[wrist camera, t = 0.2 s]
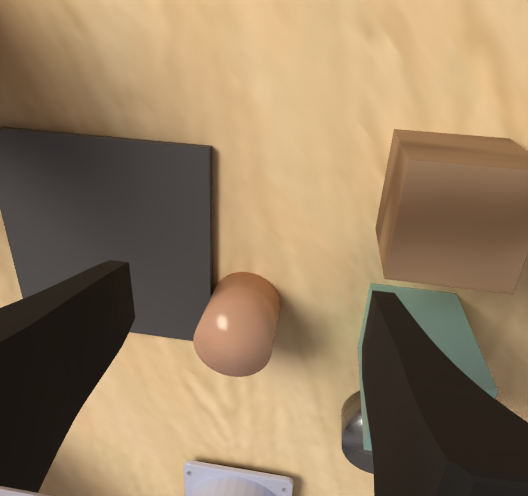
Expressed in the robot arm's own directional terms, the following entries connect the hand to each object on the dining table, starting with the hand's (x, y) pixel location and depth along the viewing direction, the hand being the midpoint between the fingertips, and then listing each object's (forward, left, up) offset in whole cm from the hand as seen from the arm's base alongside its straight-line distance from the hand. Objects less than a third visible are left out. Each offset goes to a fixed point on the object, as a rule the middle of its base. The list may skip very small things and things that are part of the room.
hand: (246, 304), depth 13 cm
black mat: (-4, +10, -10) cm, 15 cm away
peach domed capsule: (-7, +2, -10) cm, 13 cm away
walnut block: (+1, -7, -10) cm, 13 cm away
